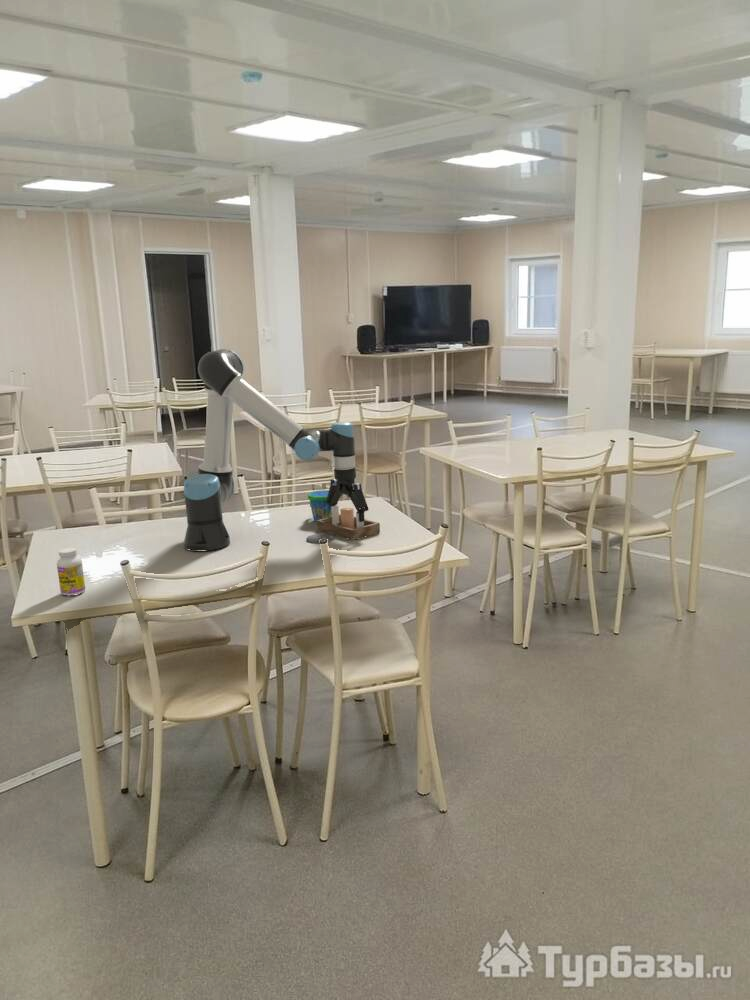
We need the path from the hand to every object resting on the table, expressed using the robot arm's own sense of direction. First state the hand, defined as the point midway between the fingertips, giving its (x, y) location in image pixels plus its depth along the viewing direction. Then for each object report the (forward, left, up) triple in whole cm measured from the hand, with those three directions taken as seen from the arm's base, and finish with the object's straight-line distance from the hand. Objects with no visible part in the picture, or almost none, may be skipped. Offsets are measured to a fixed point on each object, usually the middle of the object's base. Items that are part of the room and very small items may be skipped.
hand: (347, 527), depth 269 cm
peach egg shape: (0, 0, -2) cm, 2 cm away
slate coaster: (-13, 0, -2) cm, 13 cm away
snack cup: (+4, +19, -2) cm, 19 cm away
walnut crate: (0, 0, -2) cm, 2 cm away
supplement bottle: (-92, +12, -2) cm, 93 cm away
